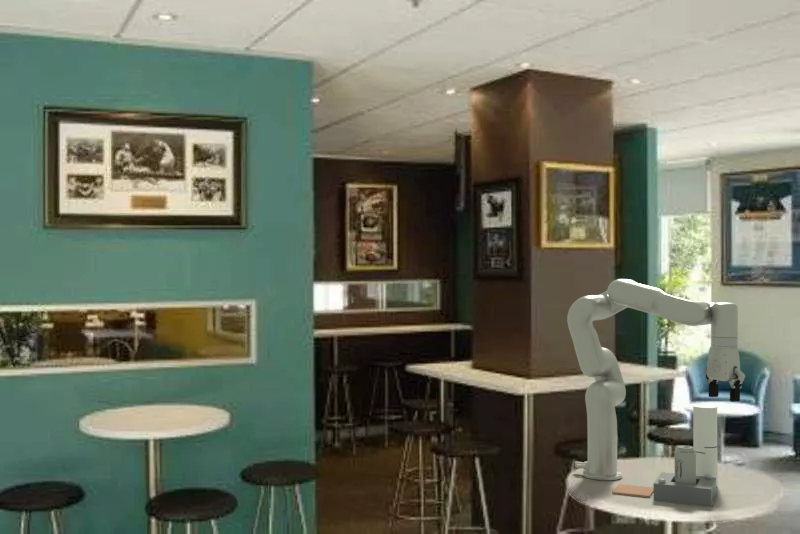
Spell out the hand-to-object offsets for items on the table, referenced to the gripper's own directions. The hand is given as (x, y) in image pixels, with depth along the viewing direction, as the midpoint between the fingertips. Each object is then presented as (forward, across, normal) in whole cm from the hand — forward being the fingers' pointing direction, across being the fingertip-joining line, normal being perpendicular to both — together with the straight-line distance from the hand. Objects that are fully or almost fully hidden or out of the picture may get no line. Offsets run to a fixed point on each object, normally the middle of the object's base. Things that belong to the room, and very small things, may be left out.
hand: (723, 399), depth 255 cm
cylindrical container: (+29, -10, +1) cm, 31 cm away
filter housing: (+29, 0, -14) cm, 32 cm away
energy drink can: (+29, 0, -14) cm, 32 cm away
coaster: (+29, -10, -25) cm, 39 cm away
